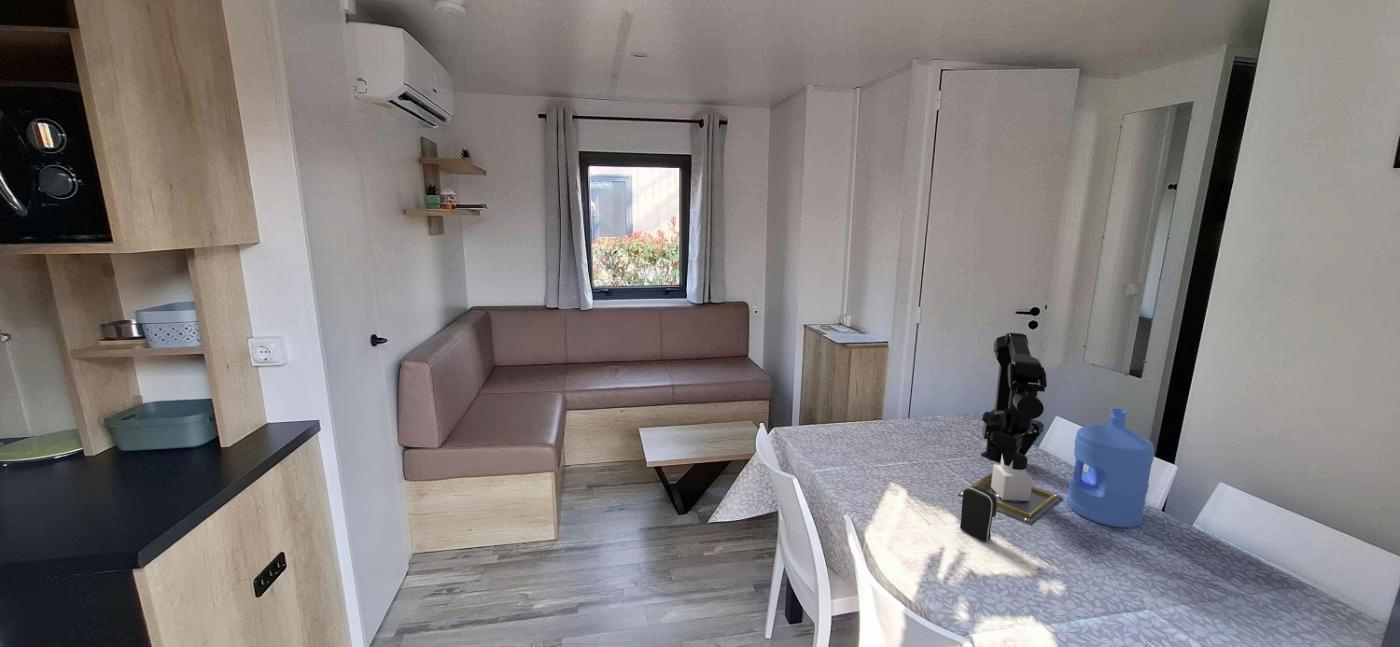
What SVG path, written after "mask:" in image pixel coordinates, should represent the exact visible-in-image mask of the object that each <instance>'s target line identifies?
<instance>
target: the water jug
mask: <svg viewBox="0 0 1400 647" xmlns="http://www.w3.org/2000/svg"><path fill="white" fill-rule="evenodd" d="M1127 414H1128V411H1127V410H1124V409H1120V408H1111V409H1110V415H1109V421H1108V423H1106V424H1105V423H1104V424H1095V425H1087V426H1081V427H1080V428H1078V429H1077V431H1076V435H1075V440H1074V450H1073V456H1074V457H1075V463H1074V469H1073V475H1072V476H1071V477H1070V478H1069V483H1068V485H1069V486H1068V490H1067V493H1066V494H1067V495H1066V503H1067V505H1068V507H1069V508H1070V509H1071V510H1072V511H1073V512H1075V513H1076V514H1078V515H1080V516H1081V517H1083V518H1085V519H1087V520H1090V521H1092V522H1095V523H1098V524H1101V525H1104V526H1107V527H1108V526H1109V527H1113V528H1114V527H1115V528H1119V529H1120V528H1121V529H1122V528H1125V529H1127V528H1129V529H1130V528H1131V529H1132V528H1135V527H1139V526H1140V525H1141V524H1142V523H1143V519H1144V509H1145V503H1146V499H1147V498H1146V497H1147V494H1148V490H1149V481H1150V475H1151V470H1152V464H1153V461H1154V457H1155V445H1154V444H1153V442H1152V441H1151V440H1149V439H1148V438H1146V437H1144V436H1142V435H1140V434H1139V433H1136V432H1135V431H1133V430H1131V429H1129V428H1128V427H1126V421H1127V417H1126V416H1127ZM1084 465H1087V466H1088V469H1087V471H1086V472H1084ZM1083 472H1084V473H1083Z"/></svg>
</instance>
